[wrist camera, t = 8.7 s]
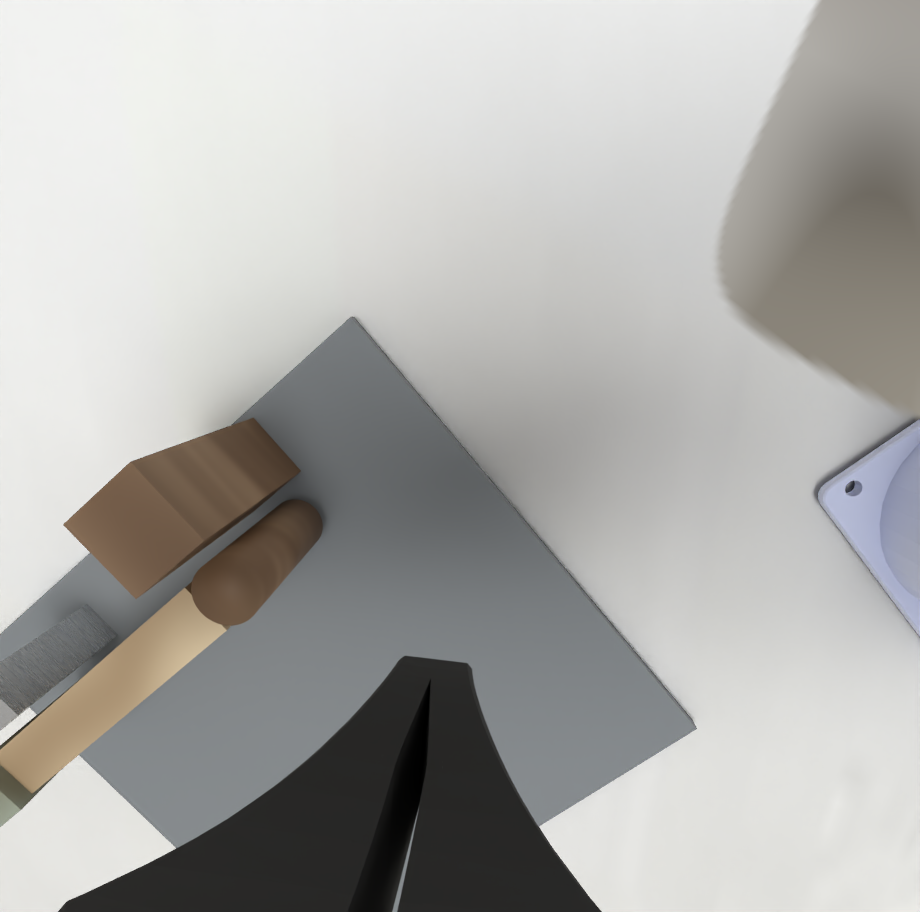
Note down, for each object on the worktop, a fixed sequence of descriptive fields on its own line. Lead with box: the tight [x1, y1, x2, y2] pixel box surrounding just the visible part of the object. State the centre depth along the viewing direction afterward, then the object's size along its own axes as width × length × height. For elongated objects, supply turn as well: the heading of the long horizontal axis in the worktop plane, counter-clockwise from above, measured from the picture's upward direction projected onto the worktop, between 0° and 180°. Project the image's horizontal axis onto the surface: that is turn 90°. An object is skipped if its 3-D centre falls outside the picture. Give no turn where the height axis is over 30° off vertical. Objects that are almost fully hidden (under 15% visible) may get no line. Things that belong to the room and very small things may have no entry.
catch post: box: [0, 604, 118, 730], centre depth 19 cm, size 2×2×5 cm
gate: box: [0, 499, 323, 827], centre depth 18 cm, size 2×12×5 cm, turn 131°
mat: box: [0, 317, 697, 912], centre depth 22 cm, size 20×19×1 cm
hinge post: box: [63, 418, 301, 599], centre depth 17 cm, size 2×2×7 cm
